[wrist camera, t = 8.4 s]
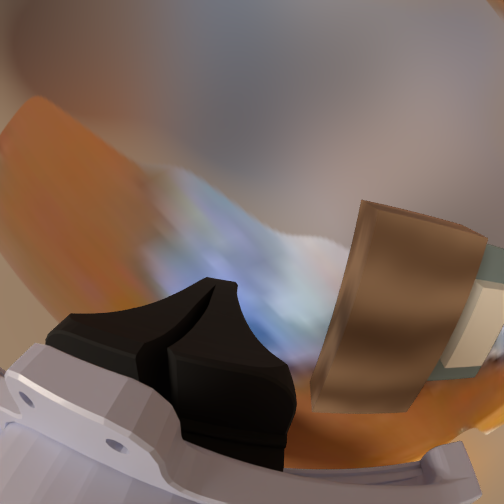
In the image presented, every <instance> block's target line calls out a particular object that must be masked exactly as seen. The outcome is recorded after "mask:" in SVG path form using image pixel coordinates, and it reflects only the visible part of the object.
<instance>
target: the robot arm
mask: <svg viewBox="0 0 504 504" xmlns="http://www.w3.org/2000/svg"><path fill="white" fill-rule="evenodd" d="M237 287H238V285H237V283H236V282H232V281H226V280H220V279H214V278H209V277H206V278H204V279H202V280H200V281H198V282H196V283H195V284H193V285H191V286H189V287H187V288H186V289H184V290H182V291H180V292H178V293H176V294H173V295H171V296H169V297H167V298H165V299H162V300H160V301H157V302H154V303H151V304H148V305H145V306H141V307H137V308H132V309H128V310H123V311H117V312H109V313H96V314H73V313H71V314H70V315H68V316H67V317H66V318H65V319H64V320H63V321H62V322H61V323H60V324H58V325H57V326H56V327H55V328H54V329H53V330H52V331H51V332H50V333H49V334H48V336H47V338H46V344H45V345H43V344H38V343H34V344H33V345H32V346H31V347H30V348H29V349H28V350H27V351H26V352H25V353H24V354H23V355H22V356H21V357H20V358H19V359H18V360H17V361H16V362H15V363H14V364H13V365H12V366H11V367H10V368H9V369H8V370H7V371H5V370H3V369H2V368H0V504H472V503H473V502H474V501H476V500H477V499H479V498H480V497H481V496H482V492H481V489H480V486H479V483H478V481H477V478H476V475H475V472H474V470H473V467H472V464H471V462H470V459H469V457H468V454H467V452H466V449H465V447H464V445H463V443H462V441H457V442H453V443H449V444H444V445H440V446H437V447H434V448H433V449H431V450H429V451H428V452H427V453H426V454H425V455H424V456H423V457H422V459H421V460H420V461H416V462H410V463H404V464H397V465H389V466H381V467H370V468H357V469H291V468H284V448H285V447H286V444H287V432H288V430H289V427H290V425H291V422H292V420H293V418H294V415H295V412H296V406H297V401H296V393H295V388H294V384H293V380H292V377H291V373H290V370H289V368H288V365H287V364H286V363H285V362H283V361H282V360H280V359H279V358H277V357H276V356H275V355H273V354H272V353H271V352H270V351H268V350H267V349H266V348H265V347H264V346H263V345H262V344H261V343H260V341H259V340H258V339H257V338H256V337H255V335H254V334H253V332H252V331H251V329H250V328H249V326H248V324H247V322H246V320H245V318H244V316H243V314H242V311H241V308H240V305H239V301H238V297H237Z"/></svg>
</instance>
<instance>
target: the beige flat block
mask: <svg viewBox="0 0 504 504" xmlns="http://www.w3.org/2000/svg"><path fill="white" fill-rule="evenodd" d="M503 324H504V284H502V283H496V282H491V281H485V280H479V279H475V281H474V284H473V287H472V289H471V292H470V295H469V297H468V300H467V302H466V304H465V307H464V309H463V312H462V314H461V316H460V318H459V321H458V323H457V325H456V327H455V329H454V331H453V333H452V335H451V338H450V340H449V342H448V343H447V345H446V347H445V349H444V351H443V353H442V355H441V357H440V361H441V362H442V364H443V366H444V367H445V368H456V367H471V366H482V364H483V362H484V361H485V359H486V357H487V355H488V354H489V352H490V350H491V348H492V346H493V344H494V342H495V341H496V339H497V337H498V335H499V333H500V331H501V329H502V326H503Z"/></svg>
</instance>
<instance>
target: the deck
mask: <svg viewBox="0 0 504 504" xmlns="http://www.w3.org/2000/svg"><path fill="white" fill-rule="evenodd" d="M487 241H488V238H486V237H484V236H483V235H481V234H479V233H477V232H475V231H473V230H471V229H469V228H467V227H465V226H463V225H460V224H457V223H453V222H450V221H446V220H443V219H439V218H435V217H432V216H428V215H424V214H420V213H416V212H412V211H408V210H404V209H400V208H396V207H392V206H387V205H383V204H378V203H374V202H370V201H364V200H361V204H360V209H359V214H358V219H357V223H356V228H355V232H354V237H353V241H352V245H351V249H350V253H349V257H348V261H347V265H346V269H345V273H344V277H343V280H342V284H341V288H340V291H339V295H338V298H337V302H336V305H335V309H334V312H333V315H332V319H331V322H330V325H329V328H328V331H327V334H326V338H325V341H324V344H323V347H322V350H321V353H320V355H319V358H318V361H317V364H316V367H315V370H314V372H313V375H312V378H311V381H310V390H311V404H312V412H321V413H348V414H373V413H399V412H407V410H408V409H409V407H410V406H411V405H412V403H413V402H414V400H415V399H416V397H417V395H418V394H419V392H420V391H421V389H422V388H423V386H424V384H425V383H426V381H427V380H428V378H429V376H430V375H431V373H432V371H433V369H434V368H435V366H436V364H437V362H438V360H439V359H440V357H441V355H442V353H443V351H444V349H445V347H446V345H447V343H448V342H449V340H450V338H451V335H452V333H453V331H454V329H455V327H456V325H457V323H458V321H459V318H460V316H461V314H462V312H463V309H464V307H465V304H466V302H467V300H468V297H469V295H470V292H471V289H472V287H473V284H474V281H475V279H476V276H477V273H478V270H479V267H480V264H481V261H482V258H483V255H484V251H485V248H486V244H487Z"/></svg>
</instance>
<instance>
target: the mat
mask: <svg viewBox="0 0 504 504" xmlns="http://www.w3.org/2000/svg"><path fill="white" fill-rule="evenodd" d="M476 279H479V280H485V281H491V282H496V283H502V284H504V249H503V248H500V247H496V246H493V245H489V244H486V248H485V251H484V255H483V258H482V261H481V264H480V267H479V270H478V273H477V276H476ZM503 325H504V324H503ZM502 327H503V326H502ZM494 343H495V342H494ZM493 345H494V344H493ZM492 347H493V346H492ZM487 356H488V355H487ZM483 363H484V362H483ZM480 368H481V366H471V367H456V368H445V367H444V366H443V364H442V362H441V361H440V359H439V360H438V362H437V364H436V366H435V368H434V369H433V371H432V373H431V375H430V376H429V378H428V380H427V381H432V380H449V379H461V378H472V377H475V376H476V374H477V373H478V371H479V369H480Z"/></svg>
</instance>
